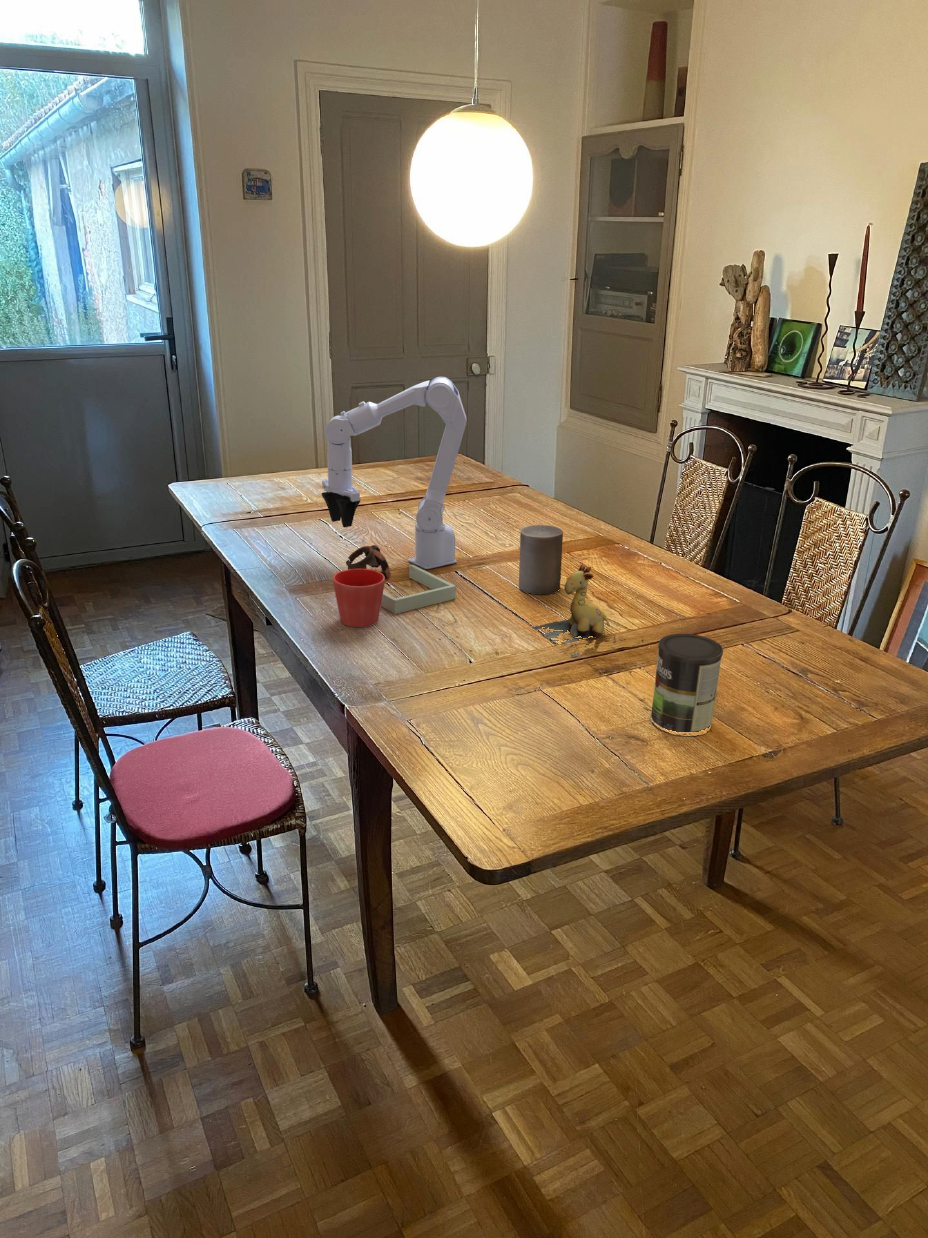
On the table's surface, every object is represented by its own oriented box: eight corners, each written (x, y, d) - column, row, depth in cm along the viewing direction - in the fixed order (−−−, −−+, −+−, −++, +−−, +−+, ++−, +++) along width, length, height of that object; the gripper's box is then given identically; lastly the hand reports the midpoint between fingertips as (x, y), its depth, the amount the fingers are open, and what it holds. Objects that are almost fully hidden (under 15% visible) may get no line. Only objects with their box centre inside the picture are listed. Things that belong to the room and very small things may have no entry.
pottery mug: (391, 586, 217) (373, 558, 212) (356, 599, 220) (338, 572, 215) (397, 557, 226) (380, 530, 222) (364, 570, 229) (346, 544, 225)
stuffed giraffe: (532, 627, 195) (539, 555, 188) (606, 618, 202) (616, 548, 195) (570, 661, 181) (580, 584, 175) (648, 649, 188) (660, 575, 182)
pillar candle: (566, 584, 218) (569, 522, 213) (551, 598, 210) (554, 533, 204) (527, 578, 222) (529, 517, 216) (511, 591, 214) (513, 527, 208)
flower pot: (393, 614, 199) (393, 571, 195) (372, 634, 190) (371, 589, 186) (348, 607, 202) (347, 565, 199) (325, 626, 193) (323, 581, 189)
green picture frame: (413, 576, 221) (413, 564, 220) (455, 598, 209) (455, 585, 207) (354, 590, 212) (353, 577, 211) (394, 613, 200) (394, 600, 199)
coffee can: (659, 738, 153) (668, 659, 148) (643, 708, 163) (651, 633, 157) (721, 736, 154) (732, 658, 148) (701, 707, 163) (711, 632, 158)
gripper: (310, 464, 225) (312, 518, 230) (340, 476, 214) (342, 533, 219) (336, 460, 229) (337, 514, 234) (367, 472, 218) (368, 529, 223)
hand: (341, 523), depth 227 cm, fingers open, 5 cm apart
